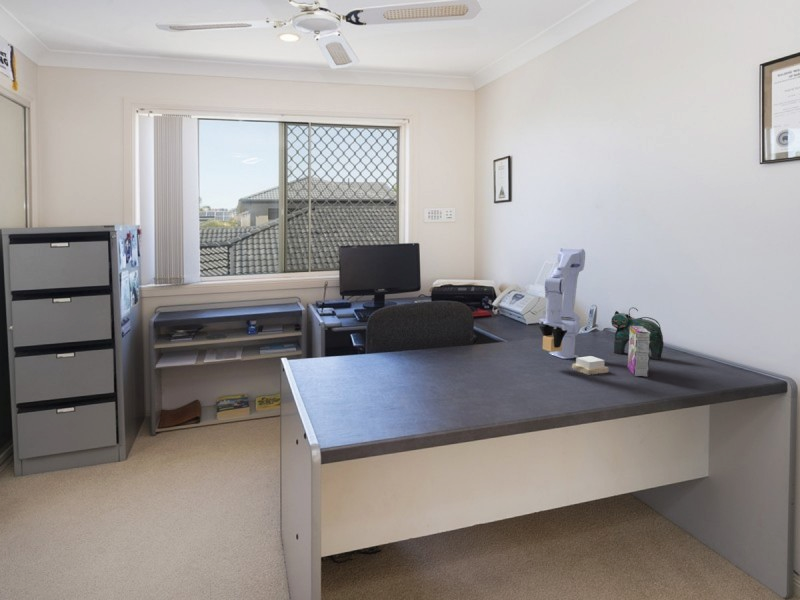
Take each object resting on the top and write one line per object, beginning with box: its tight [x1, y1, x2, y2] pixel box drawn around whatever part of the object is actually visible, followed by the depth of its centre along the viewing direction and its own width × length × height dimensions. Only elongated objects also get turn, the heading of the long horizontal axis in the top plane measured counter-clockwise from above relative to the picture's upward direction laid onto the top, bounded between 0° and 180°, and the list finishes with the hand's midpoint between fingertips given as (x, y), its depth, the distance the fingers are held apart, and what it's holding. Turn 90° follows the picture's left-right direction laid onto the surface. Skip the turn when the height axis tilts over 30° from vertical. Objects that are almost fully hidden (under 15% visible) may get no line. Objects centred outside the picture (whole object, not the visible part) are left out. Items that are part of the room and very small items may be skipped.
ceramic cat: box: [611, 307, 665, 360], centre depth 214 cm, size 20×6×20 cm, turn 49°
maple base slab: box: [571, 362, 609, 376], centre depth 194 cm, size 9×9×2 cm
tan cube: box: [542, 334, 562, 353], centre depth 196 cm, size 5×5×5 cm
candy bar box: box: [627, 326, 651, 378], centre depth 190 cm, size 11×5×16 cm, turn 168°
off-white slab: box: [575, 355, 605, 369], centre depth 194 cm, size 7×7×2 cm
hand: (552, 345), depth 196 cm, fingers closed on tan cube, 5 cm apart
